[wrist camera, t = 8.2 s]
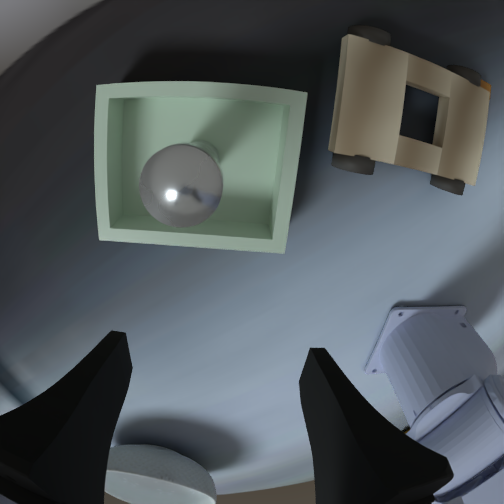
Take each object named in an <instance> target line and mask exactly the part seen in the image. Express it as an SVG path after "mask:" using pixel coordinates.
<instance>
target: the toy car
mask: <svg viewBox="0 0 504 504" xmlns="http://www.w3.org/2000/svg"><path fill="white" fill-rule="evenodd" d="M390 44H391V35H390V34H389V33H388V32H386V31H384V30H382V29H379V28H376V27H371V26H365V25H354V26H350V27H349V28H348V35H346V36H344V37H343V38H342V42H341V52H340V62H339V71H338V80H337V89H336V97H335V105H334V112H333V120H332V127H331V134H330V141H329V147H328V150H329V151H331V152H333V157H332V163H331V165H332V166H334V167H336V168H339V169H342V170H346V171H350V172H355V173H360V174H367V175H373V172H374V166H375V161H380V162H385V163H390V164H394V165H398V166H403V167H407V168H411V169H415V170H419V171H423V172H427V173H431V174H432V176H431V181H430V184H431V185H433V186H435V187H437V188H440V189H442V190H445V191H448V192H451V193H454V194H457V195H463V191H464V187H465V183H466V184H470V185H473V186H475V183H476V179H477V175H478V170H479V165H480V160H481V155H482V149H483V144H484V138H485V131H486V124H487V116H488V107H489V100H490V93H491V85H490V84H488V83H487V82H485V81H483V80H482V79H481V75H480V74H479V73H477V72H476V71H474V70H472V69H469V68H466V67H463V66H458V65H448V66H447V69H445V68H442V67H440V66H438V65H436V64H434V63H431V62H429V61H427V60H424V59H422V58H419V57H417V56H414V55H412V54H409V53H407V52H404V51H401V50H399V49H396V48H393V47H390ZM406 85H409V86H412V87H414V88H417V89H420V90H423V91H425V92H428V93H430V94H433V95H435V96H438V97H439V102H438V110H437V117H436V124H435V131H434V137H433V143H432V145H431V144H428V143H425V142H422V141H418V140H415V139H412V138H408V137H404V136H401V135H399V132H400V126H401V119H402V112H403V104H404V96H405V88H406Z"/></svg>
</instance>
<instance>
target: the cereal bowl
mask: <svg viewBox="0 0 504 504" xmlns="http://www.w3.org/2000/svg"><path fill="white" fill-rule="evenodd" d="M105 492H107V493H108V494H110V495H112V496H114V497H116V498H118V499H121V500H123V501H126V502H128V503H131V504H216V489H215V484H214V482H213V479H212V477H211V476H210V474H209V473H208V472H207V470H205V469H204V468H203V467H202V466H201V465H199V464H198V463H197V462H195V461H193V460H191V459H190V458H187V457H186V456H183V455H180V454H179V453H177V452H175V451H173V450H171V449H168V448H165V447H161V446H156V445H149V444H141V445H137V444H136V445H132V444H131V445H128V444H127V445H119V446H114V447H111V448H110V451H109V457H108V464H107V471H106V479H105Z"/></svg>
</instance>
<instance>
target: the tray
mask: <svg viewBox="0 0 504 504" xmlns="http://www.w3.org/2000/svg"><path fill="white" fill-rule="evenodd" d="M306 101H307V92H301V91H295V90H288V89H281V88H274V87H265V86H256V85H246V84H234V83H219V82H195V81H154V82H130V83H116V84H104V85H97V88H96V103H95V126H94V170H95V194H96V210H97V222H98V233H99V240H105V241H119V242H133V243H146V244H160V245H174V246H187V247H201V248H215V249H228V250H242V251H255V252H269V253H283V254H284V253H285V247H286V241H287V235H288V229H289V222H290V216H291V210H292V203H293V196H294V190H295V183H296V176H297V169H298V162H299V155H300V148H301V140H302V133H303V125H304V117H305V110H306ZM198 140H204V141H208V142H210V143H211V144H213V145H214V146H215V147H216V149H217V151H218V153H219V164H220V165H221V168H222V171H223V177H224V186H223V192H222V197H221V200H220V203H219V205H218V207H217V209H216V210H215V212H214V213H213V214H212V215H211V216H210V217H209V218H208V219H206V220H205V221H203V222H202V223H200V224H198V225H195V226H191V227H184V228H179V227H172V226H168V225H166V224H163V223H161V222H160V221H158V220H157V219H155V218H154V217H153V216H152V215H151V214H150V213H149V212H148V211H147V209H146V208H145V206H144V204H143V202H142V200H141V197H140V192H139V179H140V175H141V172H142V169H143V167H144V165H145V164H146V162H147V161H148V160H149V159H150V157H151V156H152V155H154V154H155V153H156V152H158V151H160V150H161V149H163V148H165V147H167V146H169V145H171V144H175V143H180V142H189V143H192V142H194V141H198Z"/></svg>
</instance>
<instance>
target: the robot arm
mask: <svg viewBox="0 0 504 504" xmlns="http://www.w3.org/2000/svg"><path fill="white" fill-rule="evenodd" d="M466 311H467V308H466V307H465V306H439V307H394V308H393V309H392V310H391V311H390V313H389V315H388V318H387V320H386V323H385V325H384V327H383V330H382V332H381V334H380V337H379V339H378V341H377V344H376V346H375V348H374V350H373V352H372V354H371V357H370V359H369V361H368V363H367V365H366V367H365V369H364V371H365V373H366V374H378V373H386V374H387V376H388V378H389V381H390V383H391V385H392V387H393V389H394V392H395V394H396V396H397V398H398V401H399V403H400V405H401V407H402V410H403V412H404V414H405V417H406V419H407V421H408V424H409V426H410V428H411V429H410V430H409V431H408V432H407V433H406V434H405V433H403V432H402V431H401V430H399V429H398V428H397V427H395V426H394V425H393V424H391V423H390V422H389V421H388V420H387V419H385V418H384V417H383V416H382V415H381V414H380V413H379V412H378V411H377V410H376V409H375V408H374V407H373V406H372V405H371V404H370V403H369V402H368V401H367V400H366V399H365V398H364V397H363V396H362V395H361V394H360V392H359V391H358V390H357V389H356V388H355V387H354V385H353V384H352V383H351V382H350V380H349V379H348V378H347V377H346V375H345V374H344V373H343V372H342V370H341V369H340V368H339V366H338V365H337V364H336V362H335V361H334V360H333V358H332V357H331V356H330V354H329V353H328V352H327V350H326V349H325V348H310V350H309V353H308V356H307V359H306V362H305V365H304V368H303V371H302V374H301V377H300V380H299V387H300V398H301V405H302V410H303V414H304V419H305V423H306V428H307V432H308V436H309V441H310V445H311V450H312V456H313V466H314V477H315V491H316V504H504V456H503V455H504V377H503V376H501V375H497V364H496V360H495V357H494V355H493V353H492V351H491V350H490V348H489V347H488V346H487V345H486V343H485V342H484V341H483V339H482V338H481V337H480V336H479V334H478V333H477V332H476V331H475V329H474V328H473V327H472V326H471V325H470V323H469V322H468V321H467V320H466V319H465V317H464V315H465V313H466ZM400 312H401V313H400ZM399 313H400V314H399ZM132 368H133V367H132V362H131V358H130V353H129V348H128V342H127V337H126V333H124V332H118V331H111V332H109V333H108V334H107V335H106V336H105V337H104V338H103V339H102V340H101V341H100V342H99V343H98V345H97V346H96V347H95V348H94V349H93V350H92V351H91V352H90V353H89V354H88V355H87V356H85V357H84V358H83V359H82V360H81V361H80V362H79V363H78V364H77V365H76V366H75V367H74V368H73V369H72V370H70V371H69V372H68V373H67V374H66V375H65V376H64V377H63V378H61V379H60V380H59V381H58V382H56V383H55V384H54V385H53V386H51V387H50V388H49V389H47V390H46V391H44V392H43V393H41V394H40V395H38V396H37V397H35V398H33V399H32V400H30V401H29V402H27V403H25V404H23V405H22V406H20V407H18V408H16V409H14V410H12V411H10V412H7V413H5V414H3V415H1V416H0V504H104V491H105V479H106V471H107V464H108V457H109V451H110V446H111V441H112V437H113V433H114V430H115V427H116V424H117V421H118V418H119V415H120V412H121V409H122V406H123V403H124V400H125V397H126V394H127V391H128V387H129V383H130V378H131V373H132ZM502 456H503V457H502ZM498 459H499V460H498ZM497 460H498V461H497ZM494 462H495V463H494ZM493 463H494V464H493ZM490 465H491V466H490ZM489 466H490V467H489ZM486 468H487V469H486ZM485 469H486V470H485ZM482 471H483V472H482ZM481 472H482V473H481ZM479 473H480V474H479ZM478 474H479V475H478ZM475 476H476V477H475ZM472 478H473V479H472Z"/></svg>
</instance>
